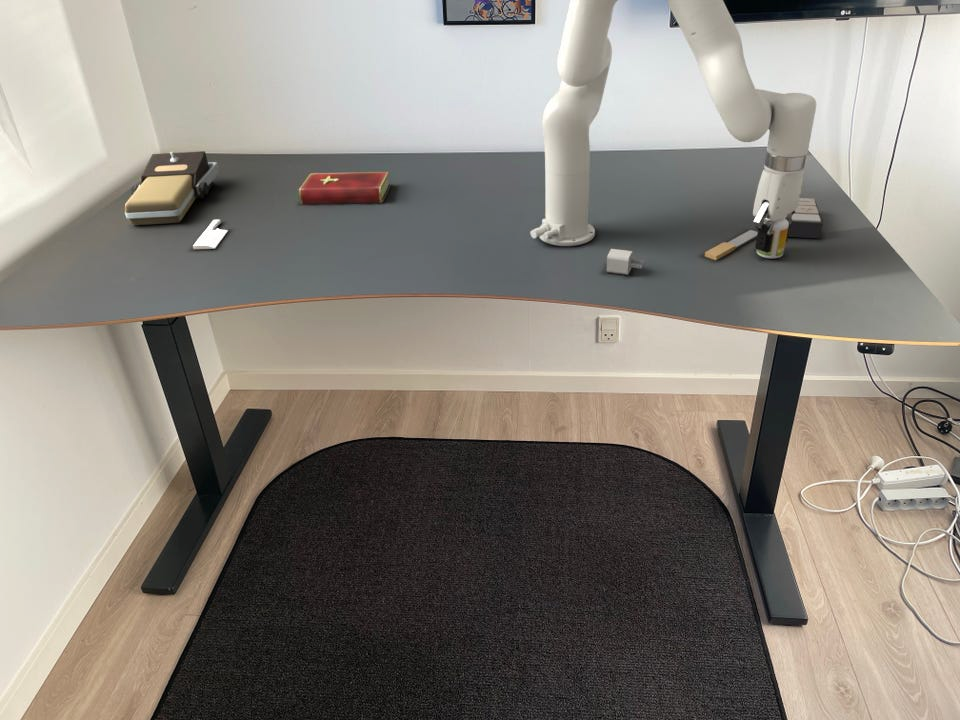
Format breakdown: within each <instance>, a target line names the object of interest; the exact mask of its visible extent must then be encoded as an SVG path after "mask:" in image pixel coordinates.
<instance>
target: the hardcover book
mask: <svg viewBox="0 0 960 720" xmlns="http://www.w3.org/2000/svg"><path fill="white" fill-rule="evenodd" d="M389 174H390V172H389V171H365V172H363V171H362V172H361V171H360V172H358V171H357V172H314V173H313V172H311V173H309V175H308V176H307V177H306V179H305V180H304V181H303V182H302V184H301V186H300V187H299V188H298V197H299V202H300V204H301V205H329V204H330V205H339V204H341V205H343V204H383V202H384V201H385V198H386V197H387V194H388V193H389V190H390V188H391V184H389V177H388V176H389Z"/></svg>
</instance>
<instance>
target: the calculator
mask: <svg viewBox="0 0 960 720" xmlns="http://www.w3.org/2000/svg"><path fill="white" fill-rule="evenodd" d="M817 204H818V203H817V201H816V199H815V198H809V197H808V198H807V197H800V199H799V204H798V207H797V208H796V209H795V212H794V213H793V215H792V222H791V224H789V225H790V227H789V233H788V238H789V237H790V238H803V239H820V238H821V234H822V230H823V224H824V222H823V219H822V216H821V213H820V211H819V207H818V205H817Z"/></svg>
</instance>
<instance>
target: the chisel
mask: <svg viewBox="0 0 960 720" xmlns="http://www.w3.org/2000/svg"><path fill="white" fill-rule="evenodd" d="M757 233H758V232H757V230H752V229H749V230H747V231H746V232H744V233H741V234H740V235H738V236H736V237H734V238H733V239H731V240H729V241H728V242H726V241H723V242H721V243H719V244H718V245H716V246H714V247H712V248H710V249H708V250H706V251H705V252H704V257H705V258H708V259H711V260H714V261H717V260H720V259H721V258H724V256H725V257H726V256H727V255H728V254H730V253H732V252H734V251H736V250H737V249H738V248H740V247H742V246H744V245H746V244H747V243H749V242H752V241H753V240H755V239H757Z"/></svg>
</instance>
